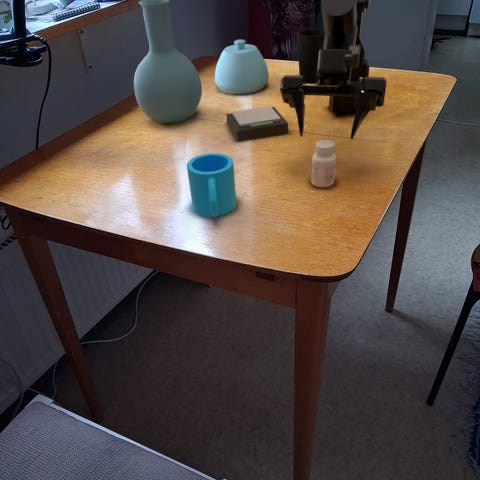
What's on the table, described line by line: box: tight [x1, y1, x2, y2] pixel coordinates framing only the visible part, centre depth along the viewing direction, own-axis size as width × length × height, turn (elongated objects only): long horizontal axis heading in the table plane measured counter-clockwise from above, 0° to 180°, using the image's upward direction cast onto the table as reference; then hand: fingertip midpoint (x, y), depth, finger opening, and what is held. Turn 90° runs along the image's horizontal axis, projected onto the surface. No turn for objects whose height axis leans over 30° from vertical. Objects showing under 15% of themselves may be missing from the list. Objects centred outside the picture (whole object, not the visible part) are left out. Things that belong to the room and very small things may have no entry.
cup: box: [296, 28, 325, 84], centre depth 132 cm, size 8×8×12 cm
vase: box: [133, 0, 203, 124], centre depth 114 cm, size 16×17×25 cm
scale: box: [225, 105, 289, 142], centre depth 113 cm, size 12×11×3 cm
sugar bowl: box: [214, 39, 270, 95], centre depth 132 cm, size 15×15×12 cm
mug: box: [186, 152, 237, 218], centre depth 85 cm, size 12×8×8 cm
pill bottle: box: [310, 139, 337, 188], centre depth 90 cm, size 4×4×8 cm
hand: (326, 136), depth 88 cm, fingers open, 9 cm apart
